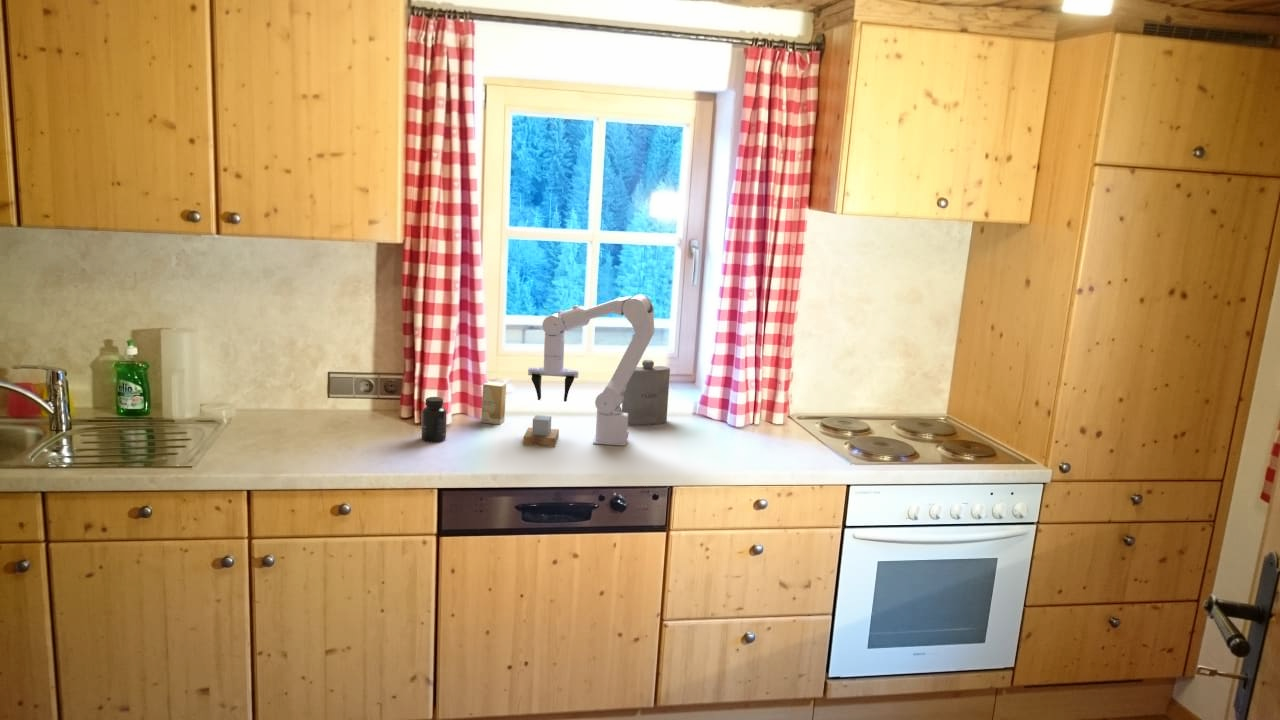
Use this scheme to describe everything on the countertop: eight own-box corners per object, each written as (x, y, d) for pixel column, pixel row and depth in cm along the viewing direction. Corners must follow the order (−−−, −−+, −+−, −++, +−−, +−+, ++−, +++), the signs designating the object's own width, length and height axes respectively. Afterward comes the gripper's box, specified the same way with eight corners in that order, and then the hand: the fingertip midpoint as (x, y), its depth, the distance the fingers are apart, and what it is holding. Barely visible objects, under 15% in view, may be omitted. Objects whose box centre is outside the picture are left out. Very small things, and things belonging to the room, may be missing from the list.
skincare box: (480, 422, 285) (481, 383, 282) (485, 419, 289) (486, 380, 286) (501, 424, 284) (502, 385, 281) (505, 421, 288) (506, 382, 285)
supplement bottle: (416, 440, 264) (416, 399, 262) (430, 434, 271) (431, 394, 268) (437, 444, 262) (437, 403, 259) (450, 438, 268) (451, 397, 266)
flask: (624, 426, 290) (628, 363, 286) (619, 420, 295) (622, 359, 291) (669, 424, 295) (673, 362, 291) (663, 418, 300) (667, 358, 296)
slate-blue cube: (550, 431, 272) (551, 416, 271) (547, 435, 268) (548, 420, 267) (535, 429, 272) (536, 415, 271) (532, 434, 268) (532, 419, 267)
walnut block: (558, 439, 275) (558, 429, 274) (554, 448, 266) (555, 438, 265) (527, 437, 275) (528, 427, 274) (523, 446, 266) (523, 436, 266)
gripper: (579, 353, 276) (578, 397, 279) (530, 350, 277) (529, 395, 279) (577, 358, 270) (576, 404, 272) (527, 355, 270) (526, 401, 273)
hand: (552, 400), depth 275 cm, fingers open, 7 cm apart
